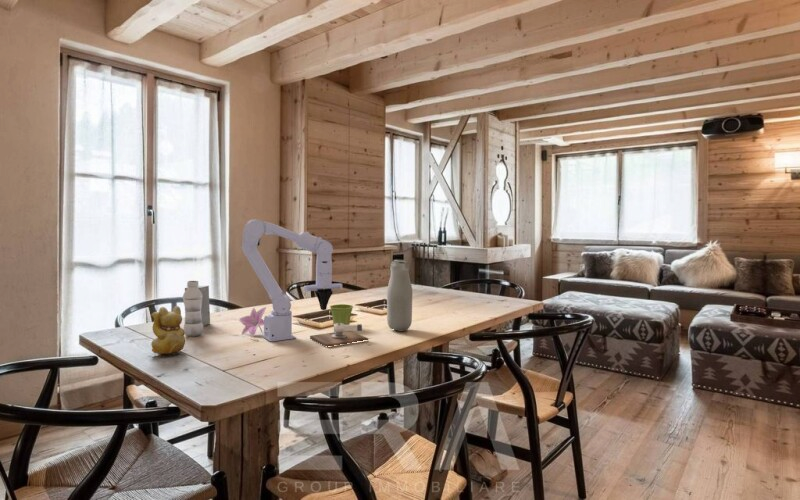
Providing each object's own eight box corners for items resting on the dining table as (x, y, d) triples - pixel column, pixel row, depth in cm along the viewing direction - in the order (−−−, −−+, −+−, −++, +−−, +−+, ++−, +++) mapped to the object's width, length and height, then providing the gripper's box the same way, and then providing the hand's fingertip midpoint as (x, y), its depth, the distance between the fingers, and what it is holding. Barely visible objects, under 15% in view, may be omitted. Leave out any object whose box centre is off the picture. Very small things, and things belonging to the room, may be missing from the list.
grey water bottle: (412, 328, 187) (413, 258, 185) (410, 334, 177) (411, 261, 175) (388, 327, 188) (389, 258, 186) (384, 333, 178) (385, 260, 176)
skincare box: (202, 328, 181) (201, 287, 180) (183, 327, 181) (183, 287, 180) (211, 323, 190) (210, 284, 189) (193, 322, 190) (193, 284, 189)
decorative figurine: (179, 349, 152) (178, 303, 151) (191, 353, 147) (191, 306, 146) (148, 355, 144) (147, 307, 143) (159, 360, 139) (159, 311, 138)
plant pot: (341, 331, 179) (341, 309, 179) (324, 328, 185) (324, 306, 184) (358, 327, 187) (358, 306, 186) (341, 324, 192) (341, 303, 192)
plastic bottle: (196, 338, 165) (195, 282, 164) (179, 337, 166) (178, 282, 165) (207, 334, 171) (206, 280, 170) (190, 333, 173) (190, 279, 171)
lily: (239, 333, 178) (230, 314, 173) (267, 319, 183) (260, 300, 178) (249, 349, 169) (241, 330, 164) (279, 334, 175) (272, 314, 170)
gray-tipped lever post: (362, 331, 166) (362, 324, 166) (334, 332, 164) (334, 324, 164) (361, 329, 169) (361, 321, 169) (333, 330, 167) (333, 322, 167)
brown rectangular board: (327, 347, 156) (327, 339, 156) (310, 339, 167) (310, 330, 167) (368, 341, 165) (368, 333, 165) (349, 333, 176) (349, 325, 176)
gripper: (309, 275, 164) (309, 313, 164) (346, 273, 172) (345, 309, 173) (302, 273, 169) (301, 309, 170) (337, 271, 178) (337, 306, 178)
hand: (323, 309), depth 172 cm, fingers closed
